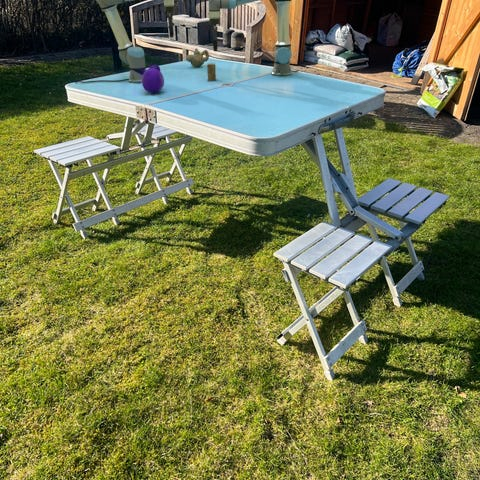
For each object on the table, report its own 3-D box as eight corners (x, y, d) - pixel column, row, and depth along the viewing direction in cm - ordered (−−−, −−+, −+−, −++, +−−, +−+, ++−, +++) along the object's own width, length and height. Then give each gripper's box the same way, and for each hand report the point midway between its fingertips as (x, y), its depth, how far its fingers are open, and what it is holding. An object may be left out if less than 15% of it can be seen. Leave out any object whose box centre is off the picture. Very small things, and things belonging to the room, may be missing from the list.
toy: (156, 85, 322) (164, 98, 301) (131, 81, 314) (137, 93, 294) (160, 63, 314) (168, 74, 293) (135, 58, 306) (141, 69, 286)
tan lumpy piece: (189, 69, 379) (188, 50, 372) (184, 67, 388) (182, 48, 380) (212, 66, 388) (211, 47, 381) (206, 64, 397) (205, 46, 389)
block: (215, 79, 339) (214, 63, 333) (215, 81, 335) (215, 64, 329) (207, 79, 339) (207, 63, 333) (208, 81, 334) (207, 64, 328)
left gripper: (164, 5, 353) (167, 34, 364) (163, 6, 331) (166, 38, 342) (174, 4, 353) (176, 34, 364) (173, 6, 332) (176, 37, 343)
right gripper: (208, 16, 332) (209, 47, 343) (209, 19, 311) (210, 52, 322) (219, 16, 333) (219, 47, 344) (220, 19, 311) (220, 52, 322)
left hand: (171, 36), depth 353 cm, fingers open, 13 cm apart
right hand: (215, 49), depth 333 cm, fingers open, 13 cm apart
